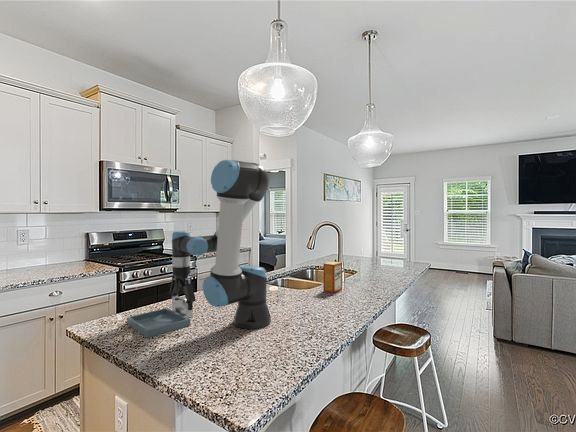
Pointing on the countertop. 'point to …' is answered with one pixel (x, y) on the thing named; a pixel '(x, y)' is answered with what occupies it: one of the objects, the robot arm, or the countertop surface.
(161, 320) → the parts tray
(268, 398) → the countertop surface
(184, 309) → the knob
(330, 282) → the baking soda box
